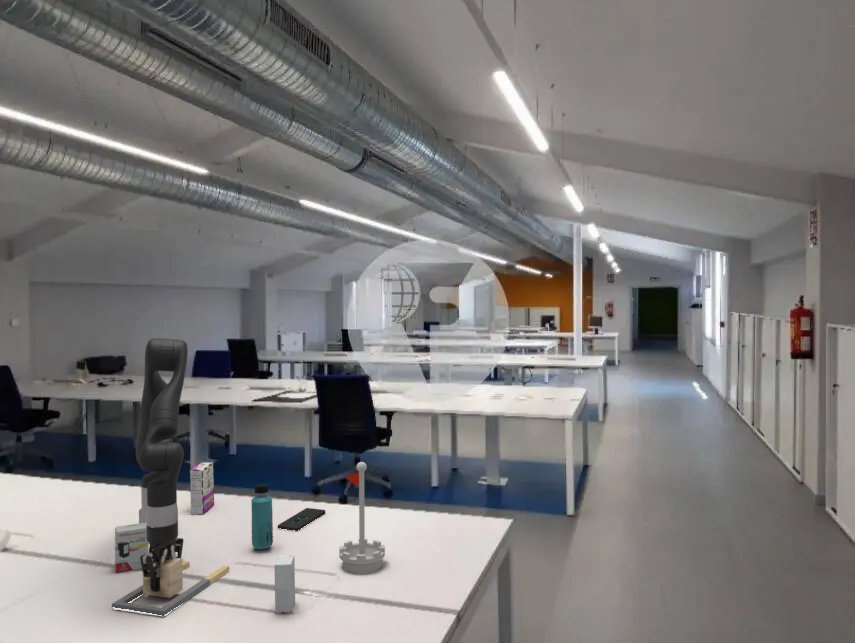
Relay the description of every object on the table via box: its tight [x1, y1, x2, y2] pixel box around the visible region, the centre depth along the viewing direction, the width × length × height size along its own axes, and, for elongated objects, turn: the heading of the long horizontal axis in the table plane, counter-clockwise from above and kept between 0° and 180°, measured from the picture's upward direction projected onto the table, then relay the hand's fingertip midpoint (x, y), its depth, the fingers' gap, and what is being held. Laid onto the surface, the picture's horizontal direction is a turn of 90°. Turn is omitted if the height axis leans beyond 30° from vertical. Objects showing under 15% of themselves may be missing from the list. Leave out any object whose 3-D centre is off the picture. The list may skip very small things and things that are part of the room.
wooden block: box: [142, 558, 184, 599], centre depth 163 cm, size 8×5×8 cm, turn 74°
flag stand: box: [338, 461, 386, 574], centre depth 182 cm, size 13×13×30 cm
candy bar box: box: [189, 461, 215, 516], centre depth 232 cm, size 11×5×16 cm, turn 179°
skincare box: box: [274, 554, 296, 614], centre depth 157 cm, size 6×4×12 cm
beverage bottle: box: [250, 483, 274, 549], centre depth 194 cm, size 6×7×20 cm
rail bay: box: [111, 560, 230, 616], centre depth 167 cm, size 15×28×2 cm, turn 164°
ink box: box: [114, 522, 149, 574], centre depth 181 cm, size 9×5×12 cm, turn 118°
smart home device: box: [277, 507, 326, 532], centre depth 221 cm, size 8×2×20 cm
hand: (163, 585), depth 163 cm, fingers closed on wooden block, 5 cm apart
